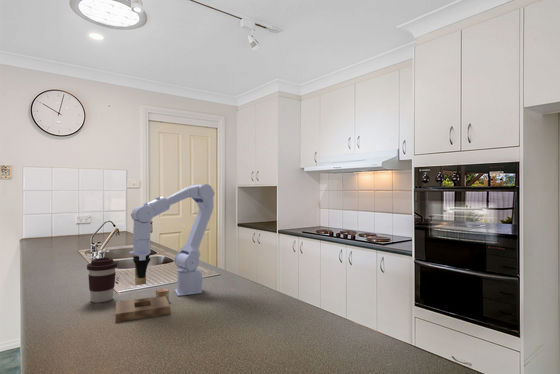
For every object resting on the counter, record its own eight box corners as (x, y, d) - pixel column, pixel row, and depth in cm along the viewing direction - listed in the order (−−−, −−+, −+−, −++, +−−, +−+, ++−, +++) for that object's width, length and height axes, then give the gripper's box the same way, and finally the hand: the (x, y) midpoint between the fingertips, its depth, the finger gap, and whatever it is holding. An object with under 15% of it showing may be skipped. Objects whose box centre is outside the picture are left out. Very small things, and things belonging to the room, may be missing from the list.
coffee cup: (103, 305, 115) (104, 262, 115) (79, 303, 117) (80, 261, 117) (122, 296, 125) (123, 257, 125) (100, 294, 127) (100, 256, 127)
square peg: (145, 281, 120) (145, 262, 121) (146, 284, 117) (146, 264, 117) (135, 282, 119) (134, 263, 119) (135, 285, 116) (135, 265, 116)
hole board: (165, 302, 118) (165, 295, 118) (169, 313, 107) (169, 306, 107) (116, 309, 111) (116, 301, 111) (115, 322, 100) (115, 313, 100)
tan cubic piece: (165, 299, 122) (165, 288, 122) (168, 301, 120) (168, 290, 120) (155, 301, 120) (155, 289, 120) (158, 303, 117) (159, 292, 117)
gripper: (129, 237, 123) (129, 272, 123) (129, 242, 110) (129, 282, 110) (149, 236, 126) (149, 271, 126) (152, 241, 113) (151, 280, 113)
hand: (141, 276), depth 118 cm, fingers closed on square peg, 3 cm apart
